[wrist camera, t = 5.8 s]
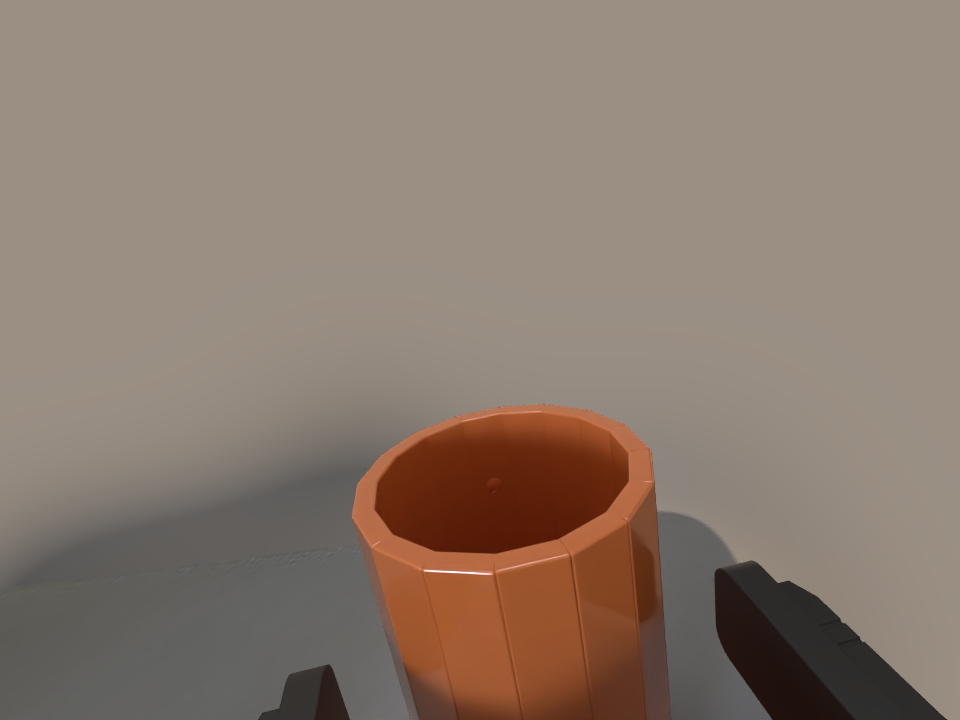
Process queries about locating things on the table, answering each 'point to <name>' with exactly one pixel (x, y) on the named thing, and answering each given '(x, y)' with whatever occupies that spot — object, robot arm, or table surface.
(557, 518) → the mug
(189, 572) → the table surface
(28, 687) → the table surface
